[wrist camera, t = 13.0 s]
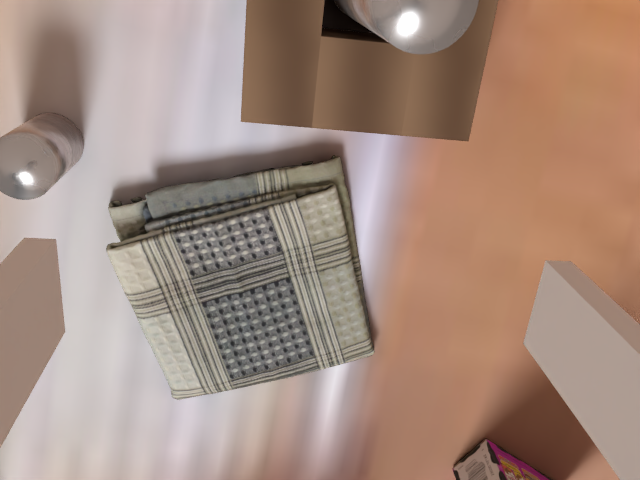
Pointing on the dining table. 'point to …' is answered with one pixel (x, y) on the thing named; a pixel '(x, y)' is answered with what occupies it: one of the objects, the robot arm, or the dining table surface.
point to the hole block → (357, 75)
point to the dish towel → (244, 277)
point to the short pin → (38, 155)
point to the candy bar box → (494, 465)
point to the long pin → (413, 21)
